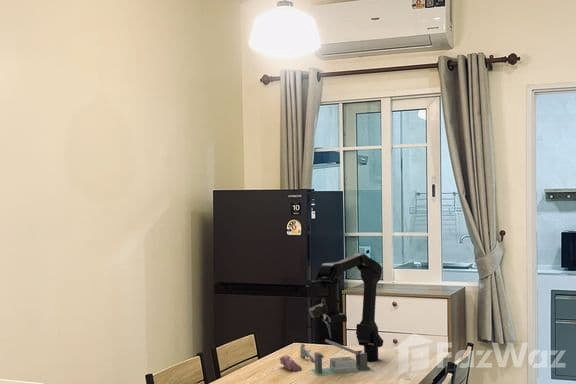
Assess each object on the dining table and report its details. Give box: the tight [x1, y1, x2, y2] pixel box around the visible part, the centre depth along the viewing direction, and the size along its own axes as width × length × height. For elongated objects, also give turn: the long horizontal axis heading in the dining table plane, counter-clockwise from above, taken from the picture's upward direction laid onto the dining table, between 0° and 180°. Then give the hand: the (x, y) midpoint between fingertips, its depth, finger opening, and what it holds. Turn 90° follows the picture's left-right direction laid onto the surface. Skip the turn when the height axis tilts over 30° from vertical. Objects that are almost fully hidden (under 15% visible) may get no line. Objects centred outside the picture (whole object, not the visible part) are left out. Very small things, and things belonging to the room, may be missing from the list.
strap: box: [324, 338, 361, 356], centre depth 255 cm, size 3×16×2 cm, turn 104°
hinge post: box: [355, 350, 371, 371], centre depth 257 cm, size 7×4×6 cm, turn 14°
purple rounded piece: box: [279, 355, 303, 372], centre depth 259 cm, size 10×5×7 cm, turn 24°
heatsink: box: [329, 356, 357, 374], centre depth 255 cm, size 8×8×4 cm
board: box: [310, 367, 374, 377], centre depth 255 cm, size 10×22×1 cm, turn 104°
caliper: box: [299, 343, 315, 364], centre depth 273 cm, size 20×1×6 cm, turn 22°
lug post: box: [314, 351, 325, 373], centre depth 253 cm, size 4×2×7 cm, turn 14°
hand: (332, 338), depth 254 cm, fingers closed
